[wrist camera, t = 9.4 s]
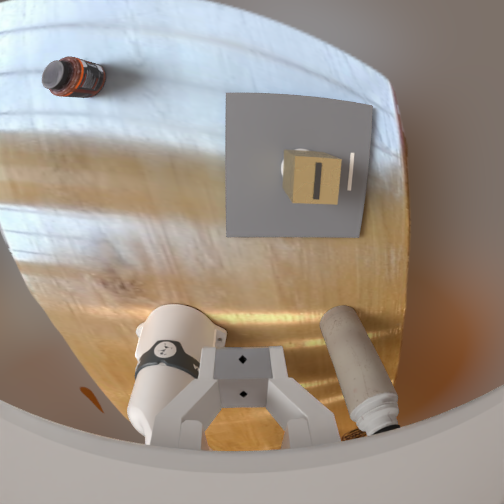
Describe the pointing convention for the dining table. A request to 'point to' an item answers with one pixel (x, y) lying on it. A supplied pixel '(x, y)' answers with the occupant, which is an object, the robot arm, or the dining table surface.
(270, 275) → the dining table surface
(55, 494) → the robot arm
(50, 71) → the supplement bottle
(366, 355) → the thermos bottle
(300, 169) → the brushed gold block
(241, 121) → the stud plate
